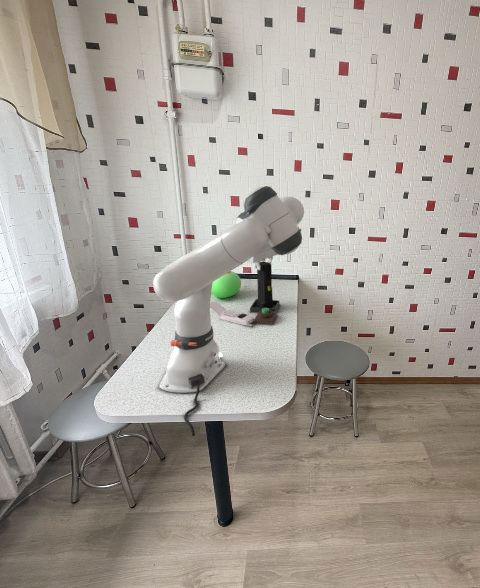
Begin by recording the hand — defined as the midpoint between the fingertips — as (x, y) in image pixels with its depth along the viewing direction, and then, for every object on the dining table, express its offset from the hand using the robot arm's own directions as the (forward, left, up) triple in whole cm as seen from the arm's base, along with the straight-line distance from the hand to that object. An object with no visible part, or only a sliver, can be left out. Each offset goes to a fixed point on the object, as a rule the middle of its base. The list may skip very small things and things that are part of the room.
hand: (264, 267), depth 156 cm
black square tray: (0, 0, -22) cm, 22 cm away
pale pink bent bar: (-14, +12, -22) cm, 28 cm away
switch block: (-12, -3, -22) cm, 25 cm away
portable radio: (0, 0, -21) cm, 21 cm away
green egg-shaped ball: (+13, +25, -22) cm, 36 cm away
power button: (-12, -3, -18) cm, 22 cm away
